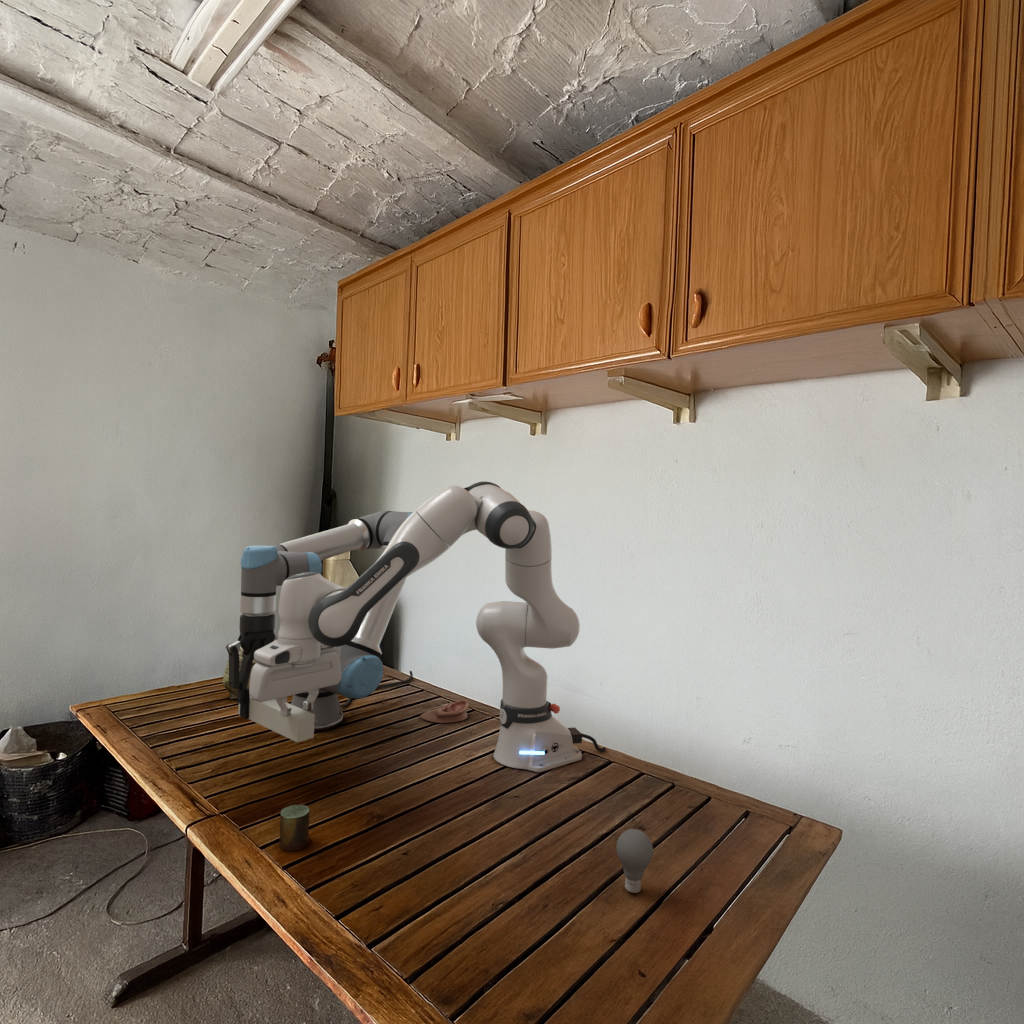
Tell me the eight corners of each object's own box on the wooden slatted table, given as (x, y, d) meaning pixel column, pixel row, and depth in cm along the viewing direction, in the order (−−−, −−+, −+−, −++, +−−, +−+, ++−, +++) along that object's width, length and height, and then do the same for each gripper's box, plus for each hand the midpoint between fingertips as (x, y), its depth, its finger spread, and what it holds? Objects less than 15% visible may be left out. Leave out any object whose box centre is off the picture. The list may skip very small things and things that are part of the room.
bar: (254, 710, 149) (255, 689, 149) (313, 737, 134) (314, 714, 134) (238, 714, 146) (238, 692, 146) (297, 742, 131) (298, 718, 131)
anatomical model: (416, 706, 181) (429, 695, 192) (416, 720, 181) (429, 708, 192) (461, 711, 178) (471, 699, 190) (460, 725, 178) (471, 712, 190)
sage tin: (298, 833, 119) (299, 801, 119) (313, 843, 116) (315, 810, 116) (273, 843, 115) (275, 811, 115) (289, 854, 112) (290, 820, 112)
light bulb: (610, 879, 108) (613, 822, 108) (644, 879, 109) (647, 822, 109) (619, 902, 102) (622, 840, 102) (655, 901, 103) (658, 840, 103)
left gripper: (282, 607, 154) (279, 702, 155) (212, 615, 141) (209, 719, 141) (300, 611, 149) (296, 709, 150) (229, 620, 136) (226, 728, 137)
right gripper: (331, 638, 145) (329, 699, 145) (246, 653, 129) (244, 720, 129) (348, 643, 141) (346, 705, 141) (263, 659, 125) (260, 729, 125)
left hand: (254, 714), depth 146 cm, fingers closed on bar, 4 cm apart
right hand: (296, 713), depth 135 cm, fingers closed on bar, 4 cm apart
